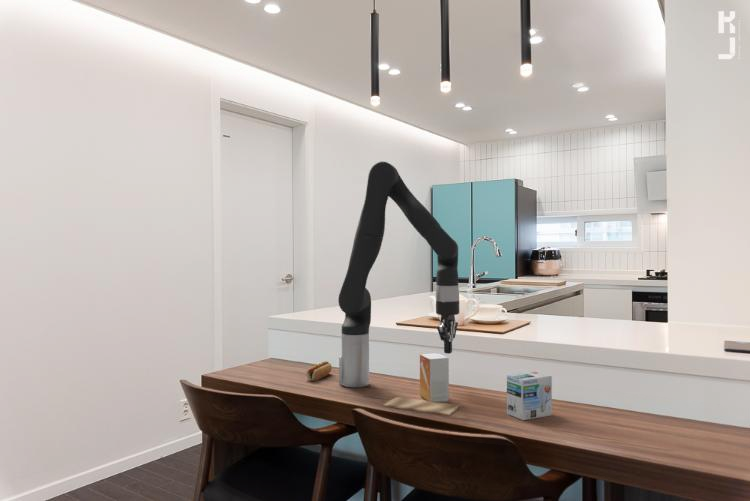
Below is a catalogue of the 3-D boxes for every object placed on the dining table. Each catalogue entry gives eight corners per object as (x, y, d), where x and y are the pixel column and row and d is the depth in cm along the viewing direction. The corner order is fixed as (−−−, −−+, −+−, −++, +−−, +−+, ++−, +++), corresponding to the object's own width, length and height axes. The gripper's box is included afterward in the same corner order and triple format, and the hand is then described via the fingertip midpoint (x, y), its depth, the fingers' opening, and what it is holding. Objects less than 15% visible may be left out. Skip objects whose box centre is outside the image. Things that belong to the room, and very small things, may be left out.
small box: (419, 396, 164) (419, 353, 164) (438, 394, 166) (438, 352, 166) (429, 403, 156) (429, 358, 156) (449, 401, 158) (449, 357, 158)
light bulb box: (523, 421, 139) (522, 380, 139) (505, 414, 145) (505, 374, 145) (553, 415, 144) (552, 375, 144) (535, 408, 150) (534, 370, 150)
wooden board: (383, 405, 153) (383, 404, 153) (397, 398, 161) (397, 396, 161) (449, 415, 144) (449, 413, 144) (460, 407, 152) (460, 405, 152)
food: (320, 373, 197) (320, 359, 197) (334, 374, 195) (334, 360, 195) (303, 381, 184) (303, 367, 184) (317, 382, 182) (317, 368, 182)
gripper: (443, 297, 179) (444, 348, 179) (428, 300, 168) (429, 355, 168) (465, 298, 176) (465, 350, 176) (451, 301, 164) (452, 357, 164)
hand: (448, 353), depth 172 cm, fingers closed
